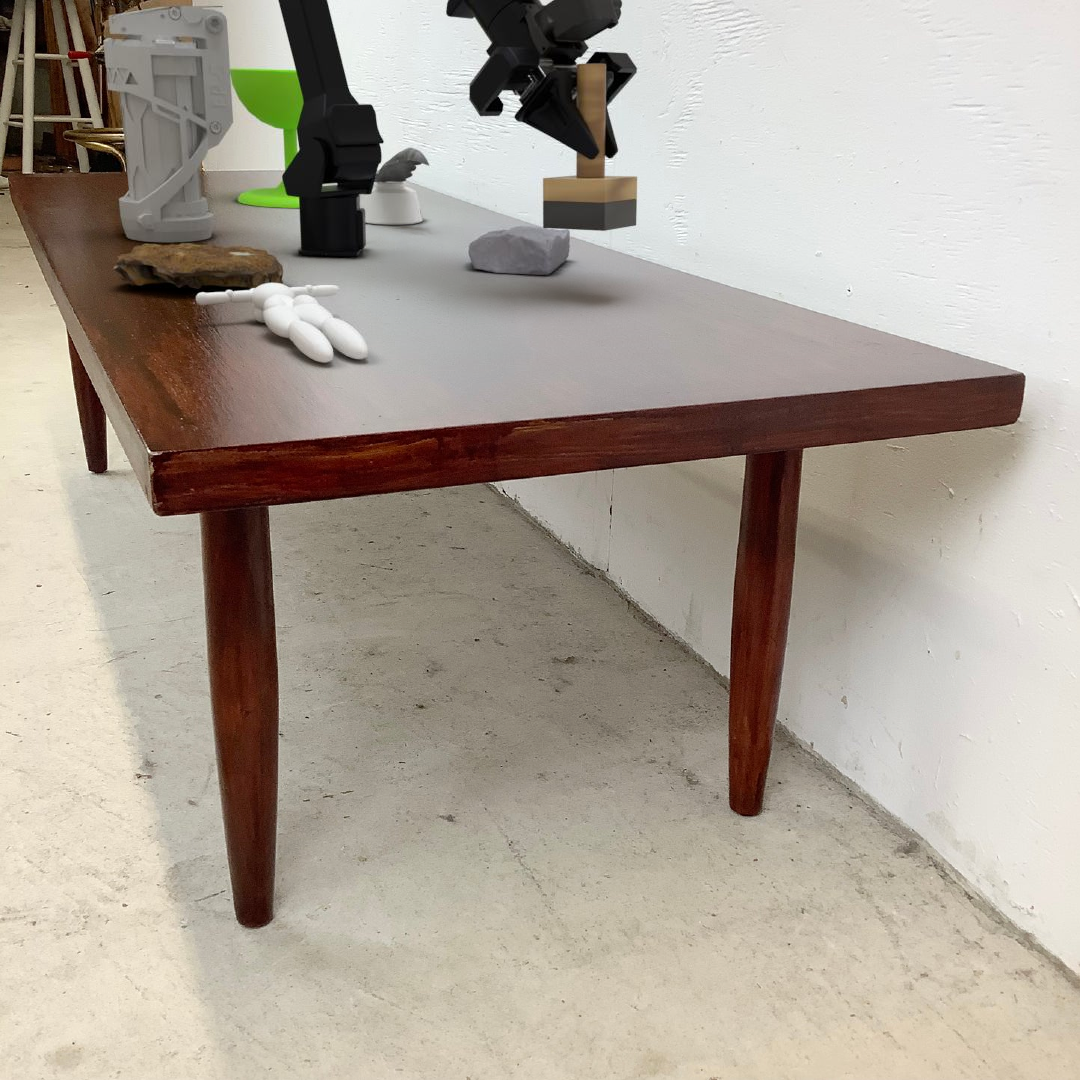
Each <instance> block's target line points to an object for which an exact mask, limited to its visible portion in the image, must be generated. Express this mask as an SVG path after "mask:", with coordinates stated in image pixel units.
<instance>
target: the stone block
mask: <svg viewBox="0 0 1080 1080" xmlns="http://www.w3.org/2000/svg"><path fill="white" fill-rule="evenodd" d="M570 241H571V233H570V229H554V228H543V227H541V226H531V225H529V226H527V225H520V226H514V227H511V228H509V229H498V230H492V231H489V232H487V233H484V234H483V235H480V236H479V237H478V238H477V239H475V240H473V241H471V242H470V243H469V245H468V256H469V259H470V261H471V262H470V263H471V265H472V267H473V268H474V269H475V270H478V271H479V270H480V271H481V270H482V271H486V272H489V273H496V274H521V275H538V276H548V275H550V274H552V273H553V272H554V271H556V270H557V269H558V268H559V267H560V266H561V265H562V264H564V263H565V262H566V261H567V259H568V258H569V255H570V248H571V247H570V246H571V245H570Z"/></svg>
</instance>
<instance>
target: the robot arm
mask: <svg viewBox="0 0 1080 1080" xmlns="http://www.w3.org/2000/svg"><path fill="white" fill-rule="evenodd" d="M277 1H278V4H279V9H280V13H281V16H282V20H283V24H284V28H285V32H286V37H287V40H288V45H289V48H290V52H291V55H292V59H293V63H294V67H295V70H296V72H297V76H298V80H299V84H300V88H301V92H302V96H303V102H304V103H303V107H302V111H301V114H300V118H299V122H298V126H297V144H298V149H299V150H297V152H298V153H297V154H296V156H295V157H294V159H293V160H292V162H291V163H290V165H289V166H288V168H287V169H286V170H285V169H284V172H283V174H282V175H281V181H282V180H283V183H284V187H285V191H286V194H287V195H288V196H294V197H299V208H298V209H299V228H300V230H299V231H300V248H299V249H298V250H297V254H298V255H300V256H301V255H302V256H327V257H330V256H331V257H332V256H333V257H335V256H336V257H358V256H359V255H360V254H361V252H362V251H363V250H364V248H365V247H366V245H367V229H366V227H367V226H366V225H367V223H365V209H364V208H360V194H366V195H369V194H371V193H372V189H373V185H374V181H375V177H376V174H377V172H378V170H379V167H380V164H382V157H383V154H382V147H381V145H382V144H384V142H385V141H384V139H383V137H382V135H381V133H380V130H379V127H378V120H377V114H376V110H375V108H374V106H373V104H371V103H367V104H366V103H359V102H358V100H356V98H355V97H354V95H353V94H352V93H351V90H350V88H349V84H348V80H347V76H346V73H345V68H344V63H343V59H342V56H341V52H340V51H341V50H340V48H339V43H338V40H337V35H336V31H335V28H334V23H333V19H332V14H331V10H330V7H329V2H328V0H277ZM622 6H623V1H622V0H552V1H549V2H548V3H547V4H545V5H544V4H543V3H542V2H541V0H447V3H446V8H445V9H446V10H445V14H446V16H447V17H449V18H457V19H470V20H473V19H475V20H476V22H477V23H478V25H479V26H480V28H481V29H482V31H483V32H484V35H486V37H487V38H488V40H489V42H490V45H489V46H488V47H487V49H486V50H485V53H486V54H487V55H488V56H489V57H488V58H487V60H486V61H485V62H484V64H483V65H482V66H481V68H479V69H480V70H479V71H478V72H476V73H477V74H476V75H475V76H474V77H473V78H472V80H471V81H470V82H469V87H468V89H469V90H468V91H469V94H468V95H469V97H468V99H469V101H470V103H471V104H472V106H473V108H474V109H475V111H476V113H477V114H478V115H479V117H499V116H501V114H502V113H503V111H504V105H505V104H504V102H502V99H501V98H500V97H499V96H500V95H501V93H502V92H503V91H504V92H505V91H508V92H509V91H511V92H512V93H513V95H514V96H519V97H520V98H518V102H519V103H520V104H521V106H520V107H519V109H518V110H517V112H516V113H514V117H513V118H514V119H515V121H517V122H518V123H523V124H526V125H528V126H529V127H531V128H533V129H535V130H537V131H538V132H541V133H543V134H545V136H548V137H550V138H552V139H553V140H555V141H557V142H559V143H561V144H562V145H564V146H566V147H568V148H569V149H571V150H573V151H574V152H576V153H577V152H578V153H580V154H581V155H583V156H585V157H587V158H588V159H590V160H593V159H595V158H596V157H597V156H598V154H599V153H600V150H599V148H598V146H597V143H596V141H595V139H594V137H593V135H592V133H591V131H590V129H589V128H588V126H587V124H586V122H585V120H584V118H583V117H582V115H581V113H580V111H579V109H578V107H577V59H579V58H582V57H583V56H584V55H585V53H587V51H588V50H589V49H590V47H589V45H588V44H587V42H586V41H588V40H590V39H591V38H594V37H596V36H597V35H598V34H600V33H602V32H604V31H606V30H607V29H609V30H611V29H613V28H615V27H617V26H618V24H619V20H620V18H621V16H622V10H621V8H622ZM585 64H606V120H605V158H608V159H613V158H614V157H615V156H616V155H617V154H618V152H619V148H618V147H619V146H618V144H617V140H616V136H615V132H614V129H613V128H614V127H613V125H612V121H611V118H610V114H609V109H608V107H609V105H610V104H611V103H612V102H613V100H615V98H616V97H617V96H618V94H620V92H621V91H622V90H623V89H624V88H625V87H626V86H627V84H628V83H629V82H630V81H631V80H632V79H633V77H634V76H635V75H636V74H637V72H638V67H637V66H636V64H635V63H634V61H633V60H632V59H631V57H630V56H629V54H628V53H627V52H615V51H613V52H612V51H594V53H593V54H592V55H591V56H590V58H589V59H588V60H587V61H586V62H585ZM331 184H332V185H331Z"/></svg>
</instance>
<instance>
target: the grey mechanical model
mask: <svg viewBox="0 0 1080 1080" xmlns="http://www.w3.org/2000/svg"><path fill="white" fill-rule="evenodd" d="M213 8H223V5H177V6H176V5H175V6H173V5H172V6H159V7H152V8H146V9H141V10H135V11H129V12H122V13H116V14H111V15H110V14H109V15H108V26H109V34H110V35H126V37H123V38H112V37H106V38H105V39H104V40H103V51H104V63H105V68H106V80H107V90H108V91H114V92H117V93H119V97H120V108H121V109H120V110H121V118H122V119H121V120H122V130H123V139H124V150H125V160H126V174H127V182H128V190H127V192H126V193H125V194H124V195H123V196H121V197H119V198H118V204H119V214H120V220H121V224H122V228H123V231H124V234H125V236H126V238H127V239H129V240H133V241H139V242H148V243H149V242H150V243H191V242H198V241H204V240H208V239H210V238H211V237H212V234H213V229H214V217H215V216H214V213H212V212H209V207H208V198H207V197H204V196H203V194H202V182H201V168H200V167H201V165H202V163H203V162H204V160H205V158H206V156H207V154H208V152H209V150H211V149H213V148H215V147H217V146H219V144H220V143H221V142H222V140H224V137H225V136H226V134H227V133H228V132H229V130H230V128H232V125H233V124H234V114H233V113H234V112H233V97H232V95H233V94H232V80H231V74H230V69H231V64H230V48H229V33H228V30H229V29H228V19H227V17H226V16H225V14H224V13H223V12H221V11H219V10H215V9H213ZM180 38H190V39H193V41H185V40H181V39H180Z"/></svg>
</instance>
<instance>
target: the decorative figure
mask: <svg viewBox="0 0 1080 1080" xmlns="http://www.w3.org/2000/svg"><path fill="white" fill-rule="evenodd" d="M339 293H340V288H339V286H337V285H334V284H323V285H321V284H320V285H312V284H306V285H305V286H292V287H291V286H287V284H285V283H283V284H280V283H266V284H262V285H260V286H258V287H256V288H252V289H250V288H249V289H244V290H234V291H233V290H232V289H226V290H225V291H214V292H211V291H210V292H204V291H201V292H198V293H197V294H196V296H195V302H196V304H197V305H198V306H201V307H205V306H210V305H223V304H228V303H229V302H231V303H236V304H237V303H240V304H241V303H251V302H252V305H253V308H252V314H253V317H254V319H255V320H256V321H257V322H259V323H265V325H266V326H267V327H268V329H269V330H270V331H271V332H272V333H274V334H275V335H277V336H279V337H281V338H285V339H289V340H290V341H291V342H292V343H293V344H294V345H295V346H296V348H298V350H299V352H301V353H302V354H304V355H305V356H306V357H308V358H309V359H311V360H313V361H315V362H317V363H321V364H322V363H325V364H327V363H329V362H331V361H332V360H333V358H334V349H333V348H335V350H337V351H339V352H340V353H341V354H343V355H344V356H346V357H349V358H351V359H355V360H363V359H365V358H367V356H368V354H369V348H368V347H369V346H368V345H367V342H366V340H365V339H364V337H363V335H362V334H360V332H359V331H358V330H357V329H356V328H355V327H353V326H352V325H350V324H349V323H348V322H346V321H344V320H342V319H340V318H336V317H334V316H333V313H331V312H330V311H329V310H328V309H327V308H325V307H324V306H322V305H320V304H319V302H318V300H317V299H316V298H324V297H325V298H326V297H334V296H337V295H338V294H339Z"/></svg>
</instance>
